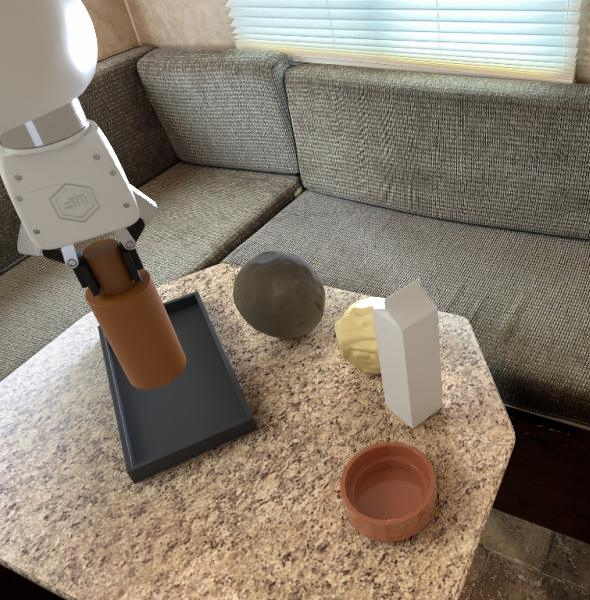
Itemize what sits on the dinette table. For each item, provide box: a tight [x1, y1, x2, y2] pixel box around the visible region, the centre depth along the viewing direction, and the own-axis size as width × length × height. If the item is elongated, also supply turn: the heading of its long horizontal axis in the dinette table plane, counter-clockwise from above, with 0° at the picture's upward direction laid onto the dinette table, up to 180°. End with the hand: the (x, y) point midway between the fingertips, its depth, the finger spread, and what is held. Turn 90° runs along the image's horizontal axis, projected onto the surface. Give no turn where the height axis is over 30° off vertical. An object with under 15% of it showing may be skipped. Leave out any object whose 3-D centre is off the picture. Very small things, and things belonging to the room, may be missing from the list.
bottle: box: [82, 238, 187, 389], centre depth 69 cm, size 7×7×18 cm
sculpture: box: [334, 296, 386, 375], centre depth 93 cm, size 12×12×11 cm
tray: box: [97, 290, 259, 485], centre depth 96 cm, size 18×35×3 cm, turn 28°
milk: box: [372, 278, 444, 430], centre depth 81 cm, size 6×6×22 cm
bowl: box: [339, 441, 438, 543], centre depth 75 cm, size 12×12×4 cm
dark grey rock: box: [232, 249, 326, 340], centre depth 99 cm, size 14×14×15 cm
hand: (116, 281), depth 66 cm, fingers closed on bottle, 3 cm apart
